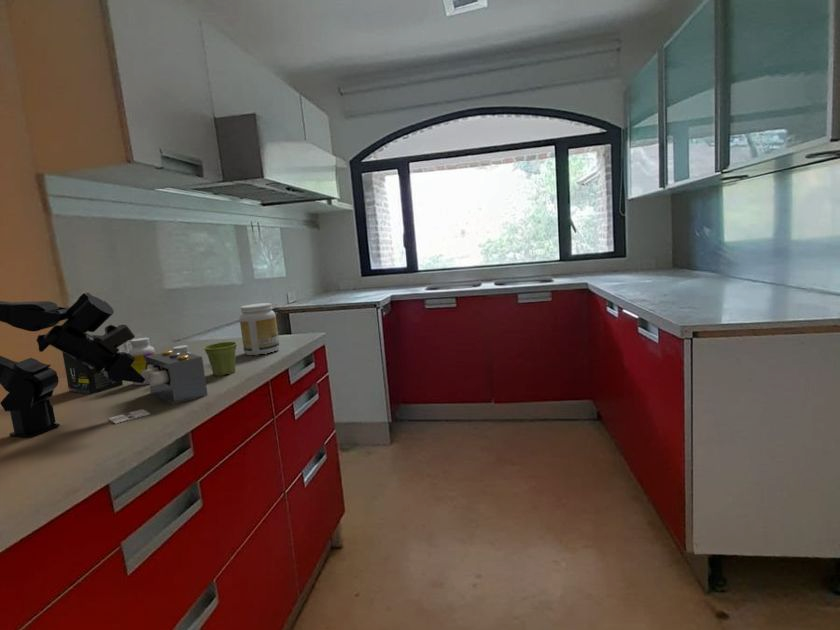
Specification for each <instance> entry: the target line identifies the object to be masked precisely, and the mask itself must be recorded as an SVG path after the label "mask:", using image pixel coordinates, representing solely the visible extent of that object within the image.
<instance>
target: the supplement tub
mask: <svg viewBox="0 0 840 630" xmlns="http://www.w3.org/2000/svg"><path fill="white" fill-rule="evenodd" d="M272 309H273V305H272V302H262V303H252V304H245V305H242V306H240V312H241V314H240V316H239V323H240V325H239V326H240V330H241V340H242V346H243V352H244V354H245V355H247V356H251V355H255V356H258V355H257V354H265V353H269V352H273V351H276V350H277V351H279V349H280V346H281V345H280V338H279V332H278V323H277V315H276V312H275V311H273V310H272ZM277 351H276V352H277ZM273 353H274V352H273ZM265 355H266V354H265Z"/></svg>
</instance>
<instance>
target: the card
mask: <svg viewBox="0 0 840 630" xmlns="http://www.w3.org/2000/svg"><path fill="white" fill-rule="evenodd" d="M149 415H151V413H150V412H148V411H147V410H146V409H138V410H135V411H130V412H127V413H123V414H120V415H115V416H113V417H109V418H108V420H109V421H110V422H111V423H113V424H114V423H115V425H116V424H120V422H121V423H124V421H125V422H128V421H130V420H135V419H139V418H141V417H142V416H143V417H146V416H149ZM138 417H139V418H138ZM143 417H142V418H143ZM127 420H128V421H127Z"/></svg>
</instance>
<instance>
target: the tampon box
mask: <svg viewBox="0 0 840 630" xmlns="http://www.w3.org/2000/svg"><path fill="white" fill-rule="evenodd" d="M90 335H91V334H90ZM91 336H95V337H98V338H101V337H102V336H103V335H100V334H98V335H97V334H92V335H91ZM61 352H62V351H61ZM117 353H118V352H117ZM117 353H116V354H117ZM116 354H115V355H116ZM62 357H63V363H64V368H65V375H66V380H67V386H68V387H67V388H68V389H67V390H68V391H69V392H72V391H74V392H73V393H79V392H80V393H79V394H84V393H85V395H93V394H97V393H100V392H102V391H106V390H109V389H113V388H116V387H120V386H124V384H123V383H124V381H122V380H119V381H117V382H115V381H113V380H111V379H109V378H107V377H106V376H104V371H103V370H102V371H101V372H99V373H98V372H96V371H94V370H93V369H91V368H89V366H88V365H86V364H84V363H82V362H80V361H78V360H77V359H75V358H73V357H71V356H69V355H68V354H66V353H64V352H62ZM92 393H93V394H92Z"/></svg>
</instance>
